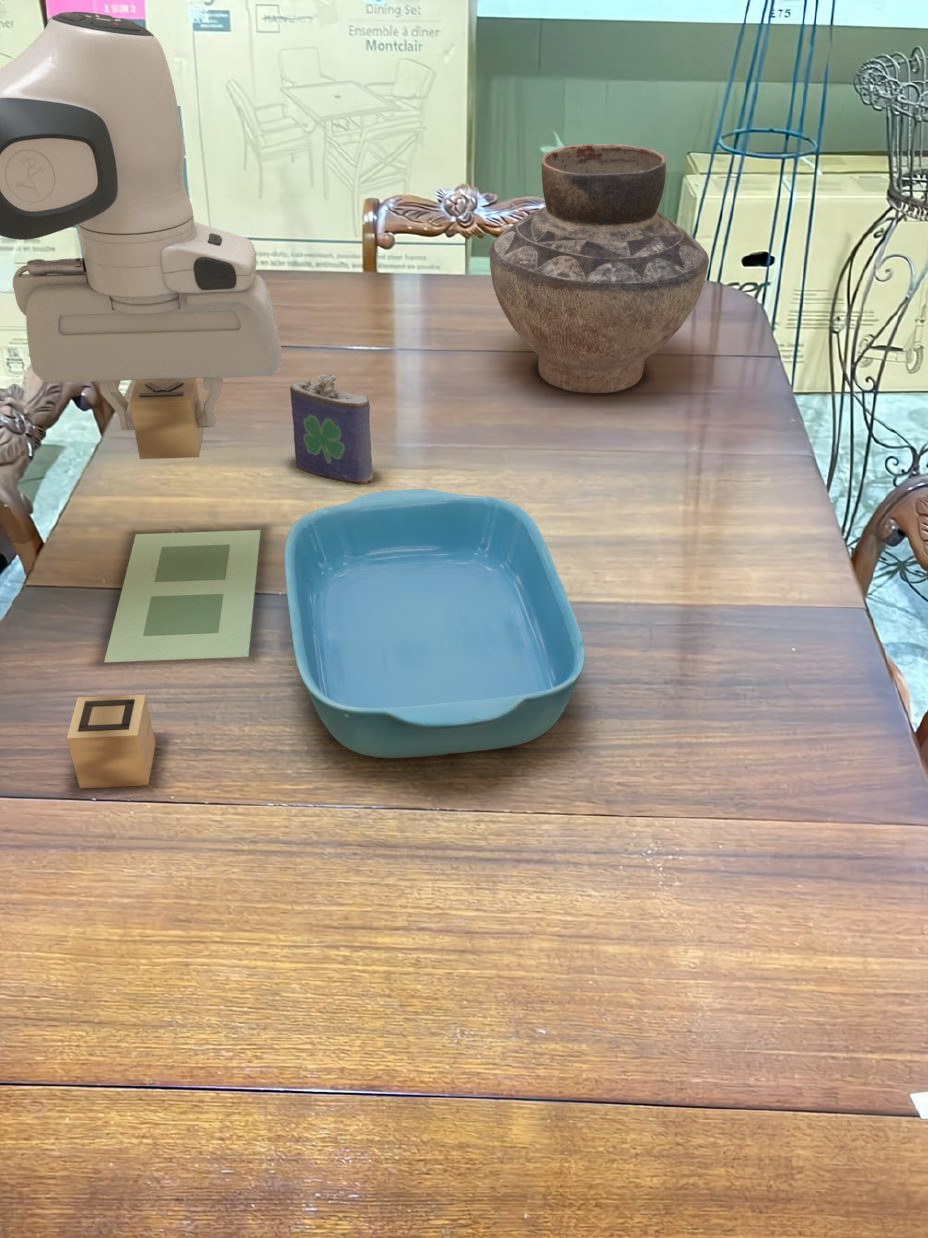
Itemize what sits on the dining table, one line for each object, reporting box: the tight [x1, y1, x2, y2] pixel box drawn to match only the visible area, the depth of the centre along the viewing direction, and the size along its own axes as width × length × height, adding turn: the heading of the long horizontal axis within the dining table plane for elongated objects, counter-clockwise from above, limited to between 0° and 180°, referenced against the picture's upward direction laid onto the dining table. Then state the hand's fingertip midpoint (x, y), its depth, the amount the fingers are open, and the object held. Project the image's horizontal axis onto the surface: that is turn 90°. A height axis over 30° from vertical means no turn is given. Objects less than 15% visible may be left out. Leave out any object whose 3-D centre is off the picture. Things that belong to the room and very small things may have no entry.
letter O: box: [66, 694, 157, 789], centre depth 93 cm, size 5×5×5 cm
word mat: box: [103, 529, 262, 664], centre depth 113 cm, size 12×22×1 cm, turn 4°
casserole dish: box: [283, 488, 586, 759], centre depth 103 cm, size 37×22×7 cm, turn 9°
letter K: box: [129, 378, 205, 460], centre depth 107 cm, size 5×5×5 cm
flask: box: [289, 373, 374, 485], centre depth 128 cm, size 9×3×11 cm, turn 61°
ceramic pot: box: [488, 143, 710, 394], centre depth 144 cm, size 25×25×24 cm
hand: (169, 426), depth 107 cm, fingers closed on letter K, 5 cm apart
